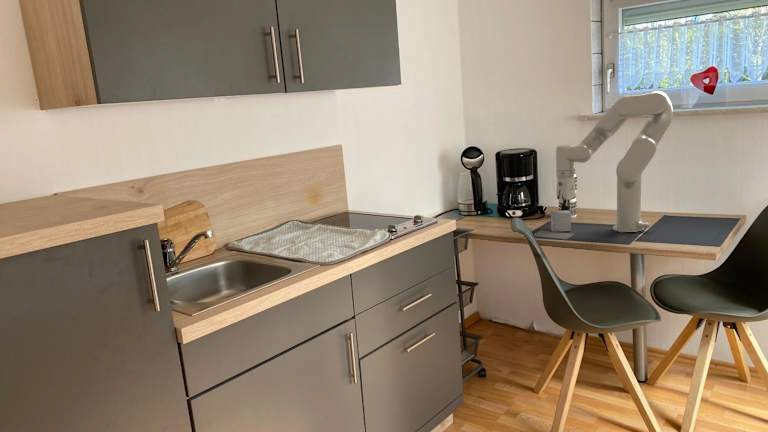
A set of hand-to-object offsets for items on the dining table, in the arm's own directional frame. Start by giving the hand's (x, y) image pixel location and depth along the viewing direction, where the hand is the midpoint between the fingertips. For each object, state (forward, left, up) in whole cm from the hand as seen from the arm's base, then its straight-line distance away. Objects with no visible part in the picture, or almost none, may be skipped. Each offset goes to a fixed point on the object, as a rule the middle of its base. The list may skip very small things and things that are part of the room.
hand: (565, 213), depth 273 cm
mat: (0, +13, -7) cm, 15 cm away
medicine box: (0, +5, -7) cm, 9 cm away
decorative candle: (+9, -23, -7) cm, 25 cm away
